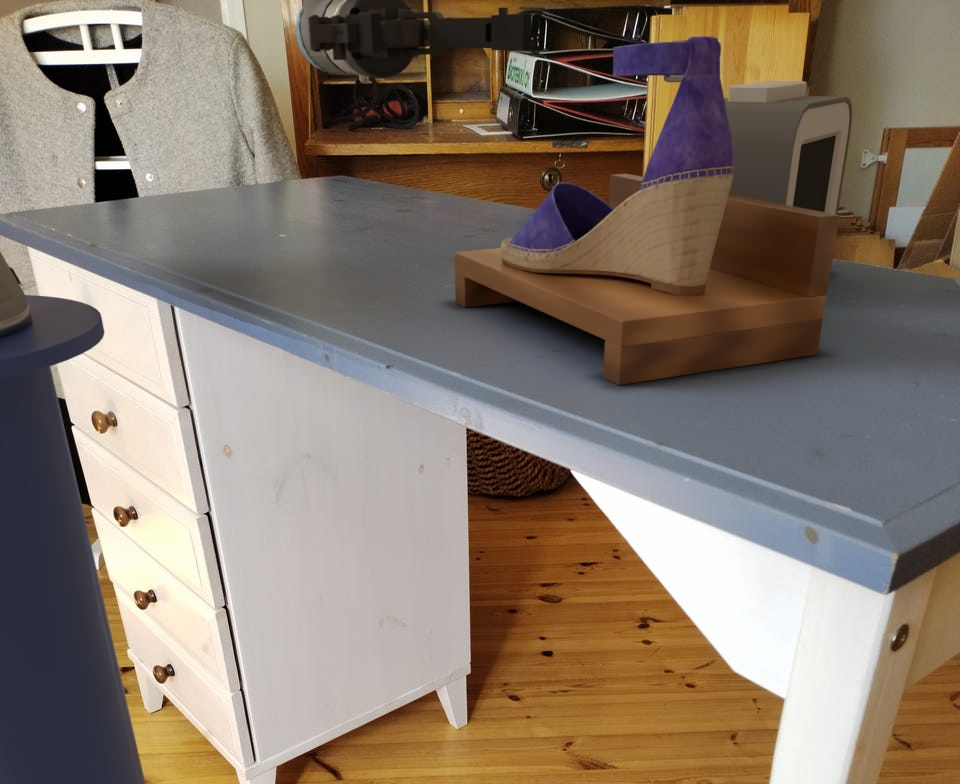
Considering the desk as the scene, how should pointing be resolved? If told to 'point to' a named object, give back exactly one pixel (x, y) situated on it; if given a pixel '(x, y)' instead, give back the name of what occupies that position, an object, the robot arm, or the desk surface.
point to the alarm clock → (788, 144)
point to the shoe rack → (686, 319)
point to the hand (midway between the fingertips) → (454, 32)
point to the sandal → (648, 187)
